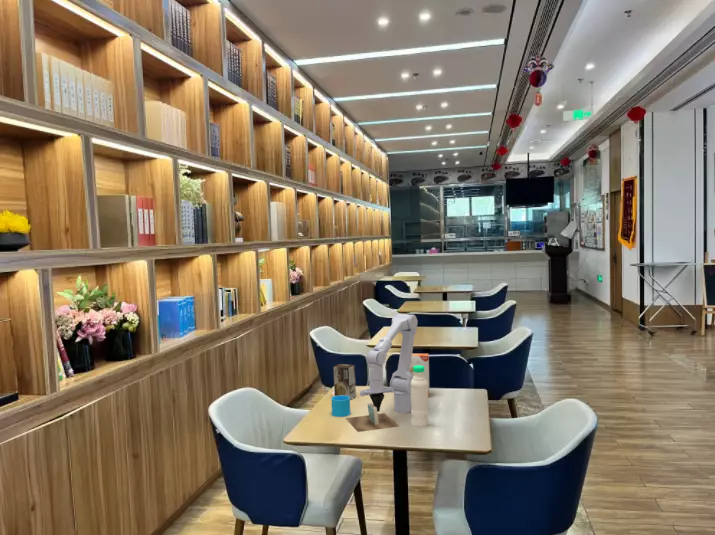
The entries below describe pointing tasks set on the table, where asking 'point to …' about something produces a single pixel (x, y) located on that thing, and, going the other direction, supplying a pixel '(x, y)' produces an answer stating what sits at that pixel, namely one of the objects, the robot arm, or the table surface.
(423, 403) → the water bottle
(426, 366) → the cracker box
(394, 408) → the robot arm
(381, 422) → the board
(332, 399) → the mug
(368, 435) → the table surface
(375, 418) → the tile
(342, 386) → the coffee box
